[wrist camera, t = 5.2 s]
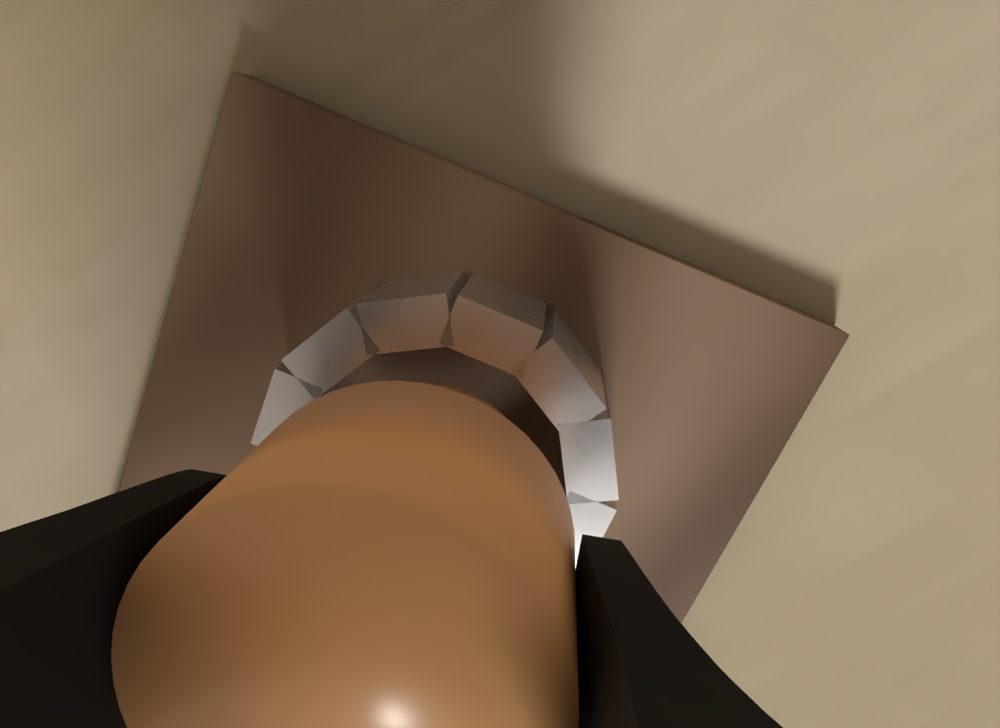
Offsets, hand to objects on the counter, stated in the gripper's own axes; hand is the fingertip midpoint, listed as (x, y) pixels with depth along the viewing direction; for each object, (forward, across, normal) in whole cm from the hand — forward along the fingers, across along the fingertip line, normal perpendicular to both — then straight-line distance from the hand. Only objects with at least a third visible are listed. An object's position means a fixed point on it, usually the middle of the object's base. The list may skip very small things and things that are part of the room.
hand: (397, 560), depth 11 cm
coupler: (+3, 0, 0) cm, 3 cm away
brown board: (+6, +1, +4) cm, 8 cm away
